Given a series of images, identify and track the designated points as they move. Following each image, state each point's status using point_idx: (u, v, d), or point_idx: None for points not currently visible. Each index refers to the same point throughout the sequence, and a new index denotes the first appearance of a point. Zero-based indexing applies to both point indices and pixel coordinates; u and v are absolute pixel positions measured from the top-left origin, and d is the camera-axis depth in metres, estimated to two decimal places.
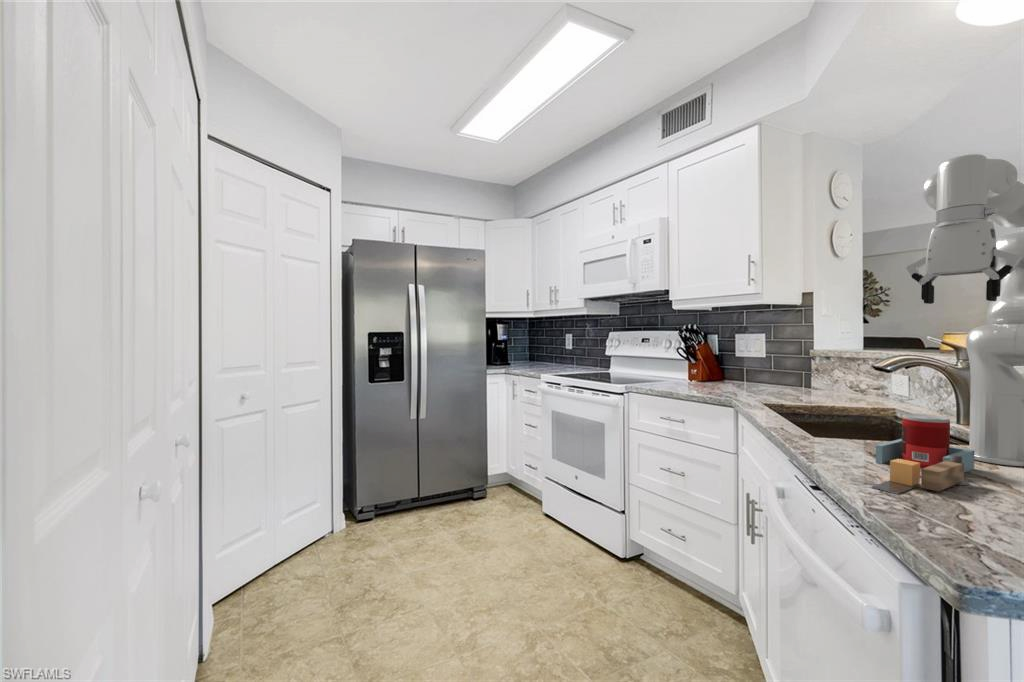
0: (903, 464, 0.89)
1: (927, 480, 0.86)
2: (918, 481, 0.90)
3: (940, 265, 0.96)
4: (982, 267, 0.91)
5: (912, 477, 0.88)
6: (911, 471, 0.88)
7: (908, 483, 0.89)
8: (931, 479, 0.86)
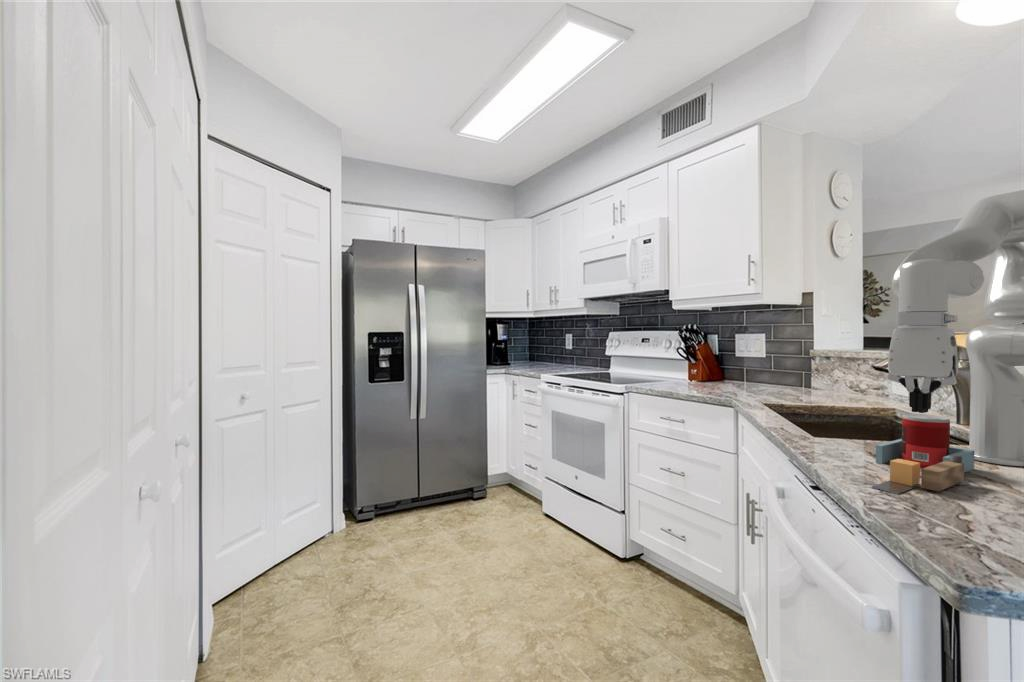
0: (903, 464, 0.89)
1: (927, 480, 0.86)
2: (918, 481, 0.90)
3: (901, 367, 0.94)
4: (942, 375, 0.89)
5: (912, 477, 0.88)
6: (911, 471, 0.88)
7: (908, 483, 0.89)
8: (931, 479, 0.86)
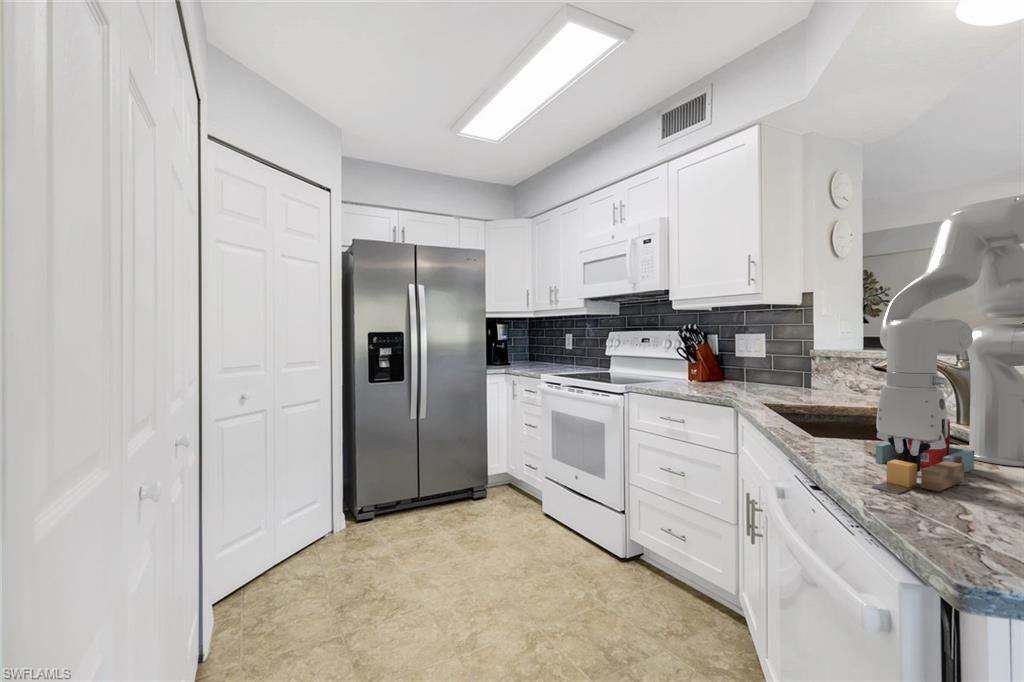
0: (900, 465, 0.89)
1: (927, 480, 0.86)
2: (915, 482, 0.89)
3: (890, 427, 0.92)
4: (931, 439, 0.87)
5: (909, 478, 0.88)
6: (908, 472, 0.88)
7: (905, 484, 0.88)
8: (931, 479, 0.86)
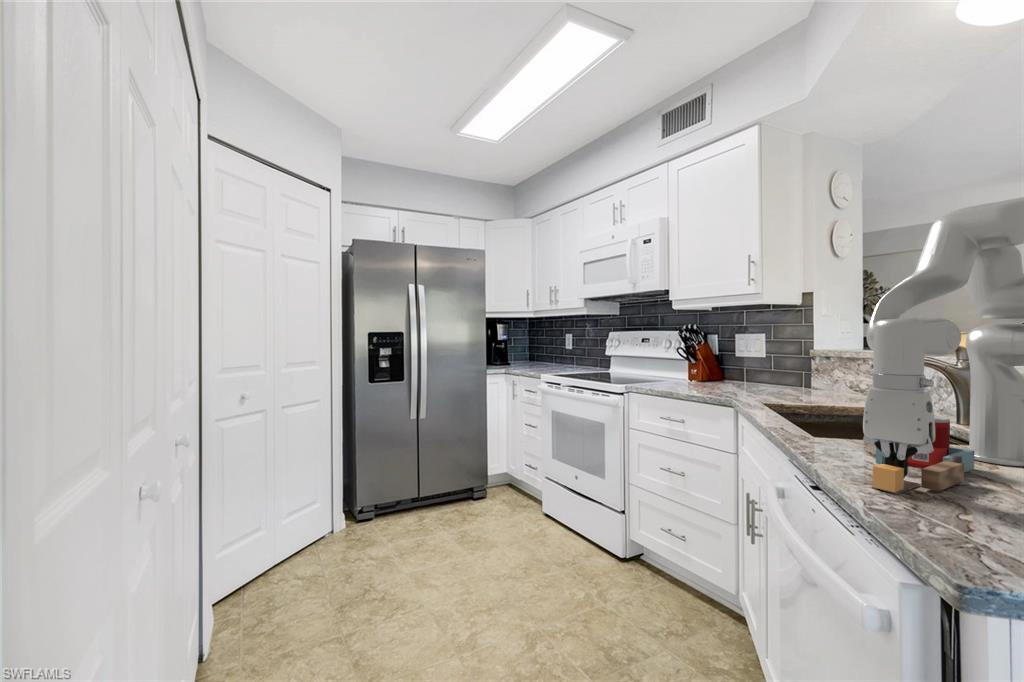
0: (886, 469, 0.86)
1: (927, 480, 0.86)
2: (902, 487, 0.86)
3: (877, 431, 0.90)
4: (918, 443, 0.84)
5: (895, 483, 0.85)
6: (894, 477, 0.85)
7: (891, 489, 0.85)
8: (931, 479, 0.86)
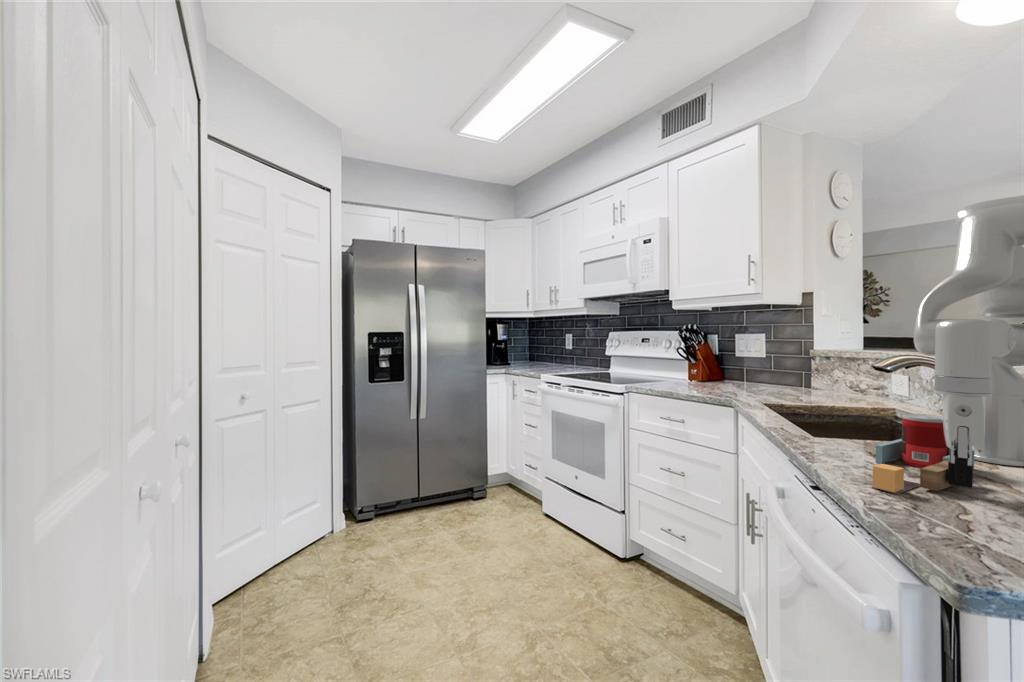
0: (886, 469, 0.86)
1: (926, 480, 0.86)
2: (902, 487, 0.86)
3: None
4: (947, 445, 0.84)
5: (895, 483, 0.85)
6: (894, 477, 0.85)
7: (891, 489, 0.85)
8: (930, 479, 0.86)
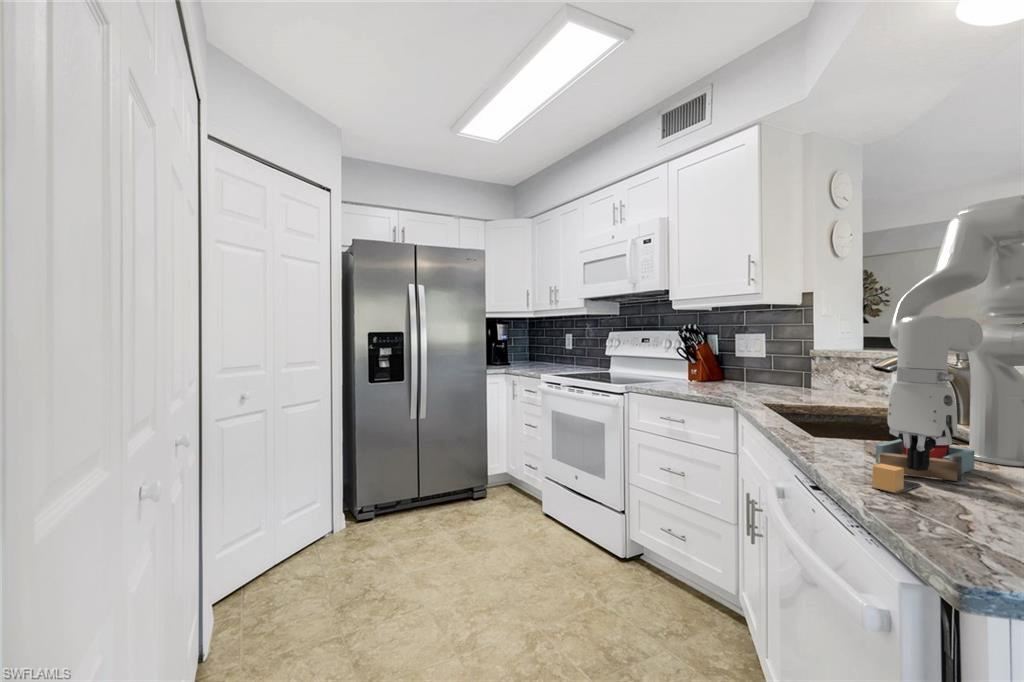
0: (886, 469, 0.86)
1: (878, 462, 0.98)
2: (902, 487, 0.86)
3: (898, 422, 0.94)
4: (934, 435, 0.88)
5: (895, 483, 0.85)
6: (894, 477, 0.85)
7: (891, 489, 0.85)
8: (879, 461, 0.98)
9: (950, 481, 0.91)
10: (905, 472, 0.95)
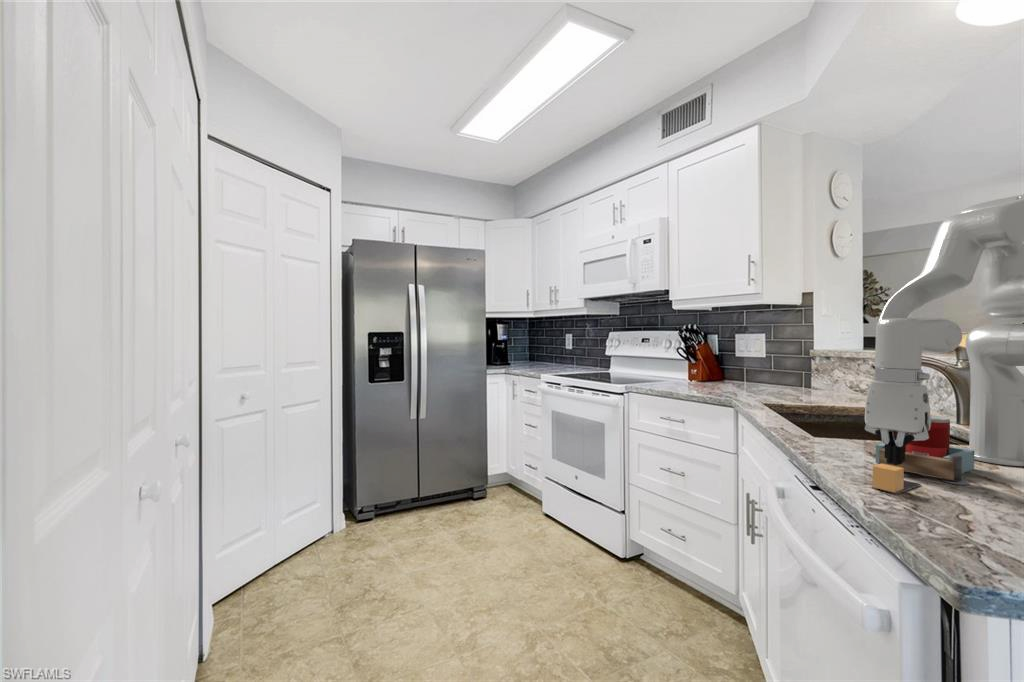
0: (886, 469, 0.86)
1: None
2: (902, 487, 0.86)
3: (877, 420, 0.98)
4: (915, 431, 0.93)
5: (895, 483, 0.85)
6: (894, 477, 0.85)
7: (891, 489, 0.85)
8: None
9: (950, 481, 0.91)
10: None
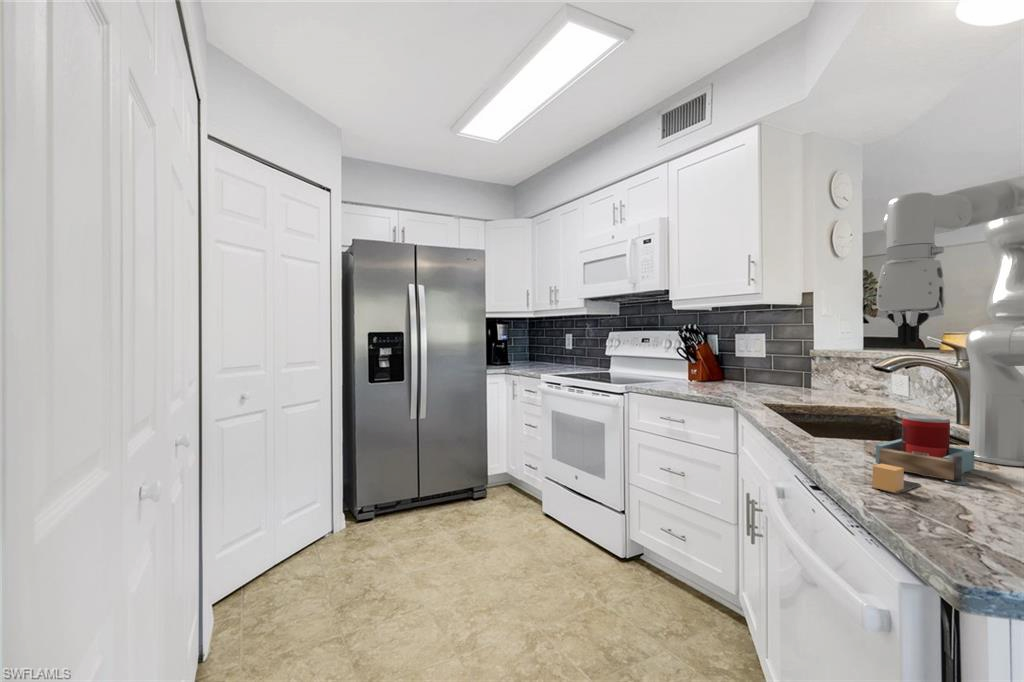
0: (886, 469, 0.86)
1: None
2: (902, 487, 0.86)
3: (890, 302, 0.96)
4: (929, 306, 0.90)
5: (895, 483, 0.85)
6: (894, 477, 0.85)
7: (891, 489, 0.85)
8: None
9: (950, 481, 0.91)
10: None
